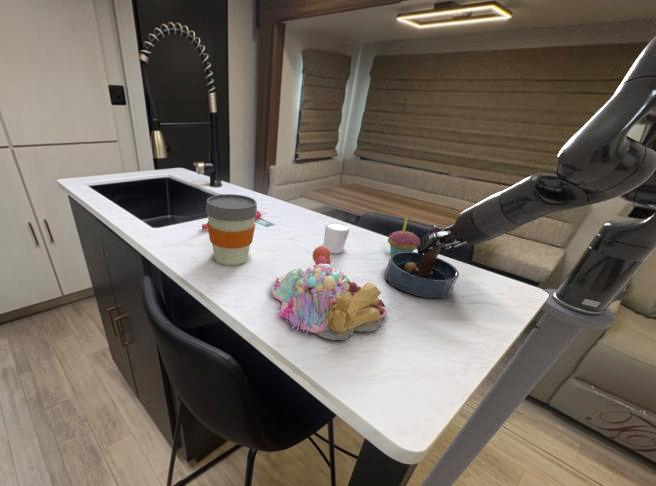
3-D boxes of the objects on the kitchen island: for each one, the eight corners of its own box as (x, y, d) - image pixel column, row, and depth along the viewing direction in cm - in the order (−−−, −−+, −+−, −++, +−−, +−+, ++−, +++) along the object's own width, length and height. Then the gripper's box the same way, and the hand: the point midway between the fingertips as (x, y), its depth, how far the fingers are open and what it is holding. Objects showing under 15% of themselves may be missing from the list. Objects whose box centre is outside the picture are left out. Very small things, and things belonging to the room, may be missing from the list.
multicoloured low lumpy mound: (404, 311, 65) (419, 273, 60) (338, 361, 52) (351, 317, 47) (313, 266, 80) (319, 233, 75) (244, 296, 67) (246, 257, 62)
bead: (412, 271, 81) (413, 260, 79) (418, 274, 78) (419, 263, 77) (400, 272, 80) (402, 261, 79) (406, 275, 78) (408, 264, 76)
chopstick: (263, 221, 109) (255, 213, 111) (264, 216, 108) (256, 208, 110) (206, 235, 96) (198, 226, 97) (207, 229, 94) (199, 220, 96)
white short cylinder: (334, 243, 94) (339, 221, 91) (349, 252, 89) (355, 229, 86) (316, 246, 92) (320, 223, 88) (330, 255, 87) (335, 232, 83)
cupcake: (398, 263, 85) (413, 221, 78) (377, 251, 91) (389, 211, 85) (420, 259, 88) (437, 218, 81) (399, 247, 94) (412, 209, 88)
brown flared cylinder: (426, 270, 78) (444, 224, 71) (434, 277, 75) (455, 230, 68) (411, 269, 78) (428, 224, 71) (419, 277, 74) (438, 230, 68)
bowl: (428, 269, 83) (435, 252, 80) (464, 300, 71) (473, 281, 68) (375, 268, 82) (380, 250, 79) (401, 299, 69) (408, 280, 67)
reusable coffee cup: (204, 267, 77) (202, 207, 68) (209, 246, 87) (208, 192, 79) (254, 269, 77) (258, 210, 69) (253, 248, 88) (257, 195, 79)
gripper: (514, 199, 61) (444, 234, 77) (456, 200, 57) (396, 237, 74) (525, 234, 59) (452, 263, 76) (466, 238, 56) (403, 266, 73)
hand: (425, 250), depth 75 cm, fingers closed on brown flared cylinder, 3 cm apart
